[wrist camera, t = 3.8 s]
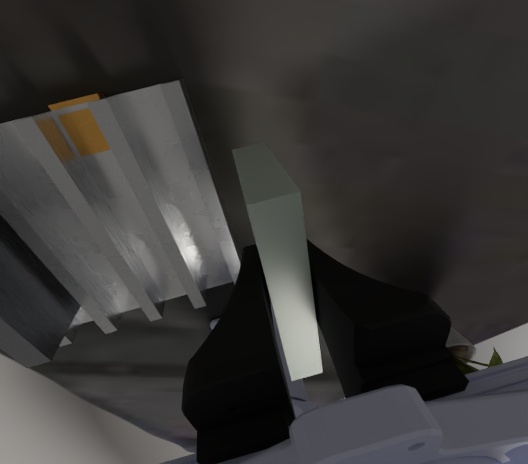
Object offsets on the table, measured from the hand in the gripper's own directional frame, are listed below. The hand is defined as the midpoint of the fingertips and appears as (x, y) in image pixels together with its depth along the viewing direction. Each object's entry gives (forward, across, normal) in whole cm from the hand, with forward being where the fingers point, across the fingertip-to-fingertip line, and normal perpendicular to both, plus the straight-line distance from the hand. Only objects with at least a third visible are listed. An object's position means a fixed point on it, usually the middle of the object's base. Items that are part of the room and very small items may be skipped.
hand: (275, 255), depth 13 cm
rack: (+9, +10, 0) cm, 14 cm away
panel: (+2, 0, 0) cm, 3 cm away
